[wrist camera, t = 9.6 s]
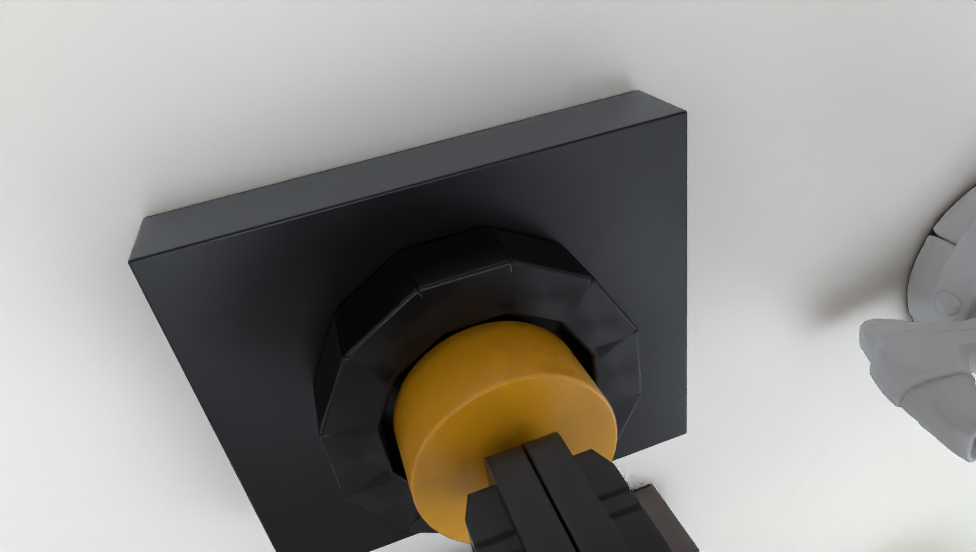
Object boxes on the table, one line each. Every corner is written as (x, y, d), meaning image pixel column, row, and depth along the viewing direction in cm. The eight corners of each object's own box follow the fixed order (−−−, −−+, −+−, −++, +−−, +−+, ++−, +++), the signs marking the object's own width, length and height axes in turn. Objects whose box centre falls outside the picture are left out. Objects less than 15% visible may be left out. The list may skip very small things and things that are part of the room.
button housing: (639, 89, 16) (738, 132, 13) (650, 389, 22) (723, 476, 18) (142, 217, 14) (108, 309, 11) (287, 518, 19) (293, 644, 16)
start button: (568, 294, 14) (612, 346, 12) (584, 440, 16) (624, 500, 15) (370, 357, 13) (387, 421, 12) (416, 501, 16) (436, 573, 14)
